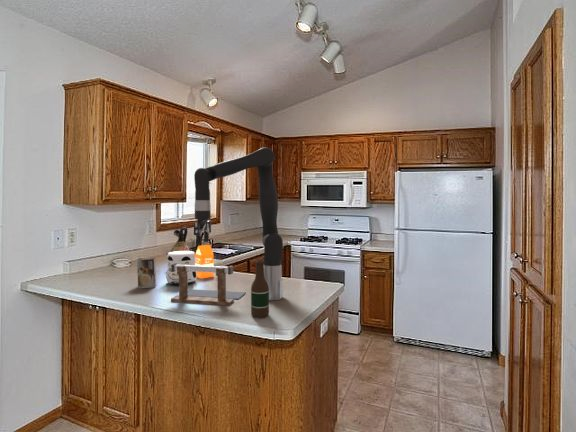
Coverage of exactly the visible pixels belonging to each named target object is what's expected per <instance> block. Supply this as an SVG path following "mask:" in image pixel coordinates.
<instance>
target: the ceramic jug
mask: <svg viewBox="0 0 576 432" xmlns="http://www.w3.org/2000/svg"><path fill="white" fill-rule="evenodd" d="M173 235H174V236H175V237H178V239H177V241H176V243H175V244H174V245H173V247H172V248H171V250H170V252H174V251H191V250H190V248H189V247H188V245H187V244H186V239H187V235H188V227H186V226H182V227H180V230H179V229H175V230H174V231H173Z"/></svg>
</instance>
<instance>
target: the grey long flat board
mask: <svg viewBox="0 0 576 432" xmlns="http://www.w3.org/2000/svg"><path fill="white" fill-rule="evenodd" d="M246 293H247V292H243V291H230V290H229V291H227V290H226V298H228V299H234V300H240V299H241V298H242V297H243V296H244V295H246ZM188 296H195V297H212V298H218V290H212V289H211V290H209V289H194V288H193V289H192V288H189V289H188Z"/></svg>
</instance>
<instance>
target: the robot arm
mask: <svg viewBox="0 0 576 432" xmlns="http://www.w3.org/2000/svg"><path fill="white" fill-rule="evenodd" d="M275 159H276V154H275V152H274V151H273V150H272V149H271V148H269V147H264V146H263V147H261V148H260V149H258V150H256V151H253V152H252V153H249V154H246V155H243V156H241V157H237V158H233V159H229V160H225V161H222V162H219V163H216V164H214V165H211V166H208V167H199V168H197V169H196V170H195V172H194V186H195V187H194V188H195V192H194V196H195V197H194V198H195V200H194V219H195V221H196V220H197V222H193V236H195V237H196V239H195V240H196V242H195V243H196V245H201V244H202V234H203V242H204V243H209V242H210V241H209V240H210V239H209V237H210V234H211V232H212V222H211V206H212V205H211V191H210V182H211V181H215V180H217V179H221V178H225V177H229V176H231V175H234V174H237V173H240V172H242V171H245V170H248V169H253V168H257V175H258V203H259V204H258V205H259V210H260V211H259V212H260V216H261V222H262V245H263V247H264V251H263V252H264V253H263V260H262V261H264V277H265V280H266V282H267V284H268V287H269V301H281V299H282V298H283V291H284V290H283V288H284V287H283V286H284V285H283V284H284V283H283V277H282V271H283V270H282V262H283V257H284V256H283V253H284V250H283V249H284V245H283V244H284V243H283V242H284V241H283V239H282V237H281V235H280V234H279V230H278V225H277V221H278V220H277V217H278V211H279V201H278V192H277V186H276V183H275V178H274V171H273V170H274V169H273V168H274V166H273V165H274V161H275Z"/></svg>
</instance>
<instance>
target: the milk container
mask: <svg viewBox="0 0 576 432" xmlns="http://www.w3.org/2000/svg"><path fill="white" fill-rule="evenodd" d="M195 254H196V252H195V251H191V250H190V251H174V252H171V251H169V252H167V257H166V258H167V270H166V273H165V274H166V275H165V276H166V282H167V283H168V284H171V285H175V286H177V285H178V286H179V274H177V271H175V272H171V264H174V263H177V264H178V265H182V264H189V265H195ZM197 278H198V277H197V272H191V271H188V272H187V285H188V284H193V283H194V282H195V281H197Z"/></svg>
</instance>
